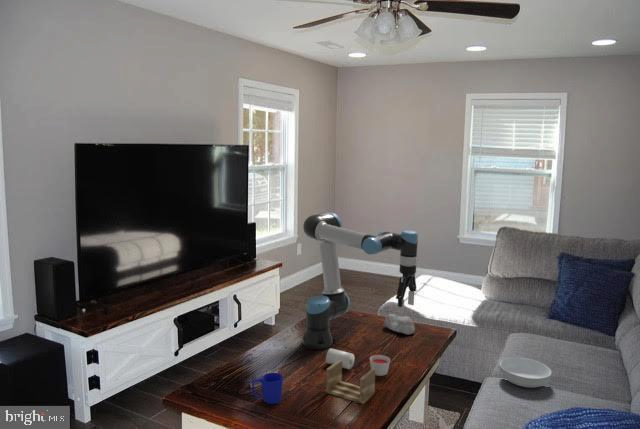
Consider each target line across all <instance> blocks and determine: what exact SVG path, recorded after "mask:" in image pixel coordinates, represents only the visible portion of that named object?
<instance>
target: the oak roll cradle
mask: <svg viewBox="0 0 640 429" xmlns="http://www.w3.org/2000/svg"><path fill="white" fill-rule="evenodd" d="M342 377H343V368H342V361H340V360H338V361H337V362H336V363H334V364H333V365H331V364H330V366H328V367H327V368H326V378H325V379H326V380H325V381H326V387H325V388H326V391H325V392H326V393H327V394H330V395H333V396H336V397H340V398H342V399H343V398H344V399H346V400H349V401H353V402H356V403H360V404H362V405H364V404H365V403H366V402H367V401H368V400H369V399H370V398H371V397H373V395H375V385H376V384H375V383H376V375H375V370H373V369H371V368H370V370H369V371H367V372H366V373H365V374H364V375H363V376H361V377H360V380H359V382H360V383H359V384H360V385H356V384H353V383H350V382H346V381H343V380H342V379H343V378H342Z"/></svg>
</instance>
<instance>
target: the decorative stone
mask: <svg viewBox="0 0 640 429" xmlns="http://www.w3.org/2000/svg"><path fill="white" fill-rule="evenodd" d="M383 323H384V326H385V327H386V328H387V329H389V330H390V331H391V330H392V331H393V332H395V333H396V332H397V333H400V334H403V335H406V336H407V335H412V334H413V333H414V332H415V331H416V329H415V324H414V322H413V321H412V319H411V318H410V317H409V316H406V315H404V316H399V315H397V314H394V313H393V314H391V313H390V314H387V316H386V317H385V319H384V322H383Z"/></svg>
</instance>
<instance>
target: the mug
mask: <svg viewBox="0 0 640 429" xmlns="http://www.w3.org/2000/svg"><path fill="white" fill-rule="evenodd" d="M283 380H284V378H283V375H282V374H281V373H278V372H268V373H265V374H263V375H262V376H261V378H253V379H251V385H252V393H253V395H254V397H255V398H257V399H261V398H263V401H264V403H266V404H268V405H275V404H279V403H280V401H281V400H282V391H283ZM255 382H260V384H261V391H262V392H261V393H262V394H261V395H258V394H257V393H256V390H255Z"/></svg>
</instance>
